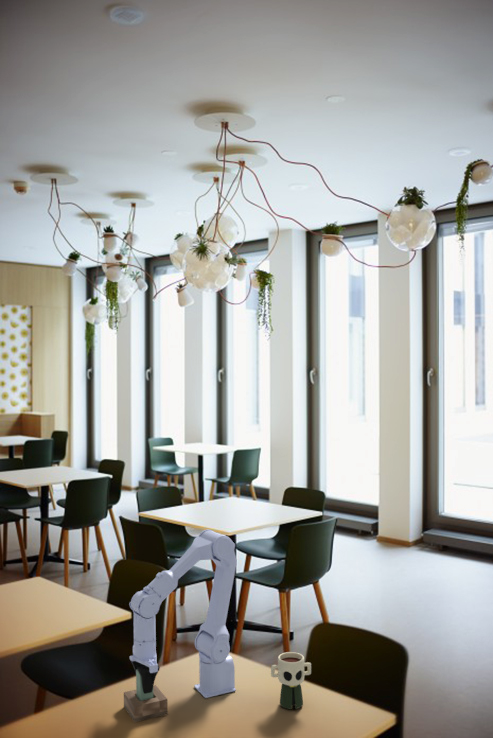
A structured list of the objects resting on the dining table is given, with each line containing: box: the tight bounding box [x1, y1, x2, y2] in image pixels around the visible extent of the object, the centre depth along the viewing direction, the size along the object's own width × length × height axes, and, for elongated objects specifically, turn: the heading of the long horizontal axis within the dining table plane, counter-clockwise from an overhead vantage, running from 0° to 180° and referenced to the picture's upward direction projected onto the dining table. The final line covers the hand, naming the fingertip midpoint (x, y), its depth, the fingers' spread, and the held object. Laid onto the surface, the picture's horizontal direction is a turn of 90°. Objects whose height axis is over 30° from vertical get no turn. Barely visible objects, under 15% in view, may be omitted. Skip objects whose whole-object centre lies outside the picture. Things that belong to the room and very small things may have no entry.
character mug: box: [270, 651, 312, 710], centre depth 194 cm, size 11×7×13 cm, turn 98°
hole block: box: [123, 684, 169, 723], centre depth 192 cm, size 9×9×4 cm
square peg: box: [135, 669, 153, 701], centre depth 192 cm, size 4×4×8 cm
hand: (145, 689), depth 192 cm, fingers closed on square peg, 3 cm apart
